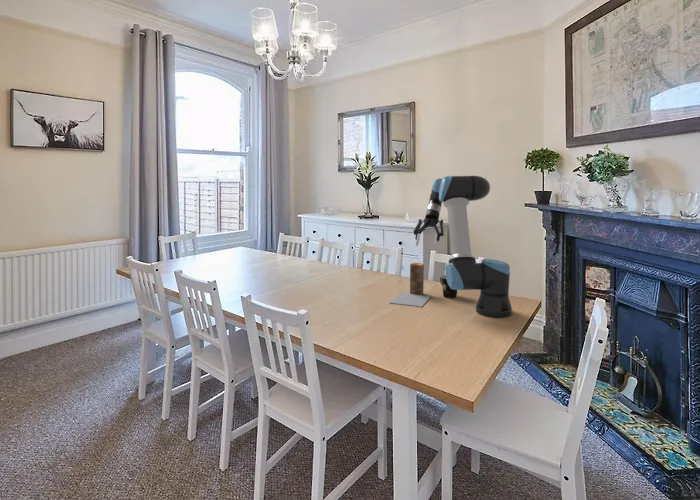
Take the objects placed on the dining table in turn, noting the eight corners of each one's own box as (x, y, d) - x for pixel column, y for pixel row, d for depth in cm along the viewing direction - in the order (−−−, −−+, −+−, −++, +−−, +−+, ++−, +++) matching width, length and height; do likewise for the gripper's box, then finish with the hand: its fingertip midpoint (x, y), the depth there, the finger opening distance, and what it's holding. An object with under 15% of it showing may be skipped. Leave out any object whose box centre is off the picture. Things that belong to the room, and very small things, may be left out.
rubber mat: (430, 296, 203) (430, 296, 203) (422, 307, 187) (422, 306, 187) (400, 293, 210) (400, 292, 210) (389, 303, 194) (389, 302, 194)
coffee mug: (460, 298, 199) (461, 279, 197) (443, 299, 199) (443, 279, 197) (454, 292, 210) (455, 273, 209) (438, 292, 211) (438, 273, 209)
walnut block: (423, 293, 209) (423, 263, 206) (421, 295, 206) (421, 264, 203) (412, 292, 212) (412, 262, 209) (409, 294, 208) (410, 264, 205)
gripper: (453, 217, 230) (447, 249, 219) (415, 216, 239) (407, 247, 228) (451, 209, 224) (445, 241, 213) (413, 208, 233) (404, 239, 222)
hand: (425, 244), depth 220 cm, fingers open, 9 cm apart
